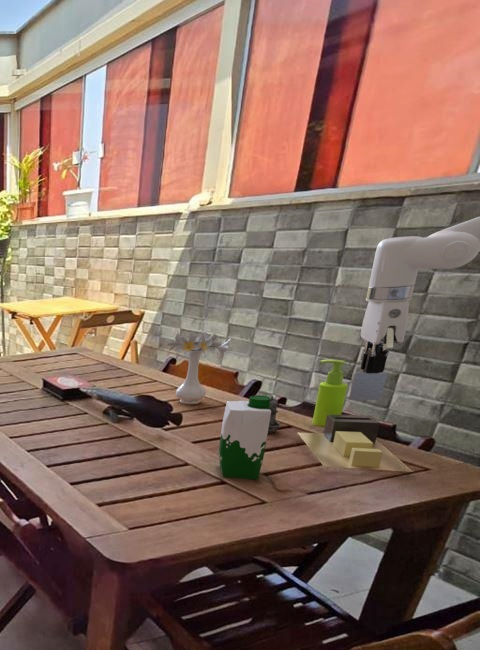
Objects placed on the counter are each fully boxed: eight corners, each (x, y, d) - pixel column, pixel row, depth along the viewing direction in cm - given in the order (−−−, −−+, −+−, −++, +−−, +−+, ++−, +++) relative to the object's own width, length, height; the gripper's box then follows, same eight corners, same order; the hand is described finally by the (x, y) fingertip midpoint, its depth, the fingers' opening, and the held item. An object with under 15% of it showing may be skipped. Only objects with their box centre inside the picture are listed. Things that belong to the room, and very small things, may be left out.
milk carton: (263, 481, 119) (276, 403, 112) (218, 478, 123) (228, 402, 116) (256, 467, 126) (269, 392, 119) (214, 464, 130) (224, 391, 123)
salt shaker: (252, 430, 147) (258, 392, 143) (277, 432, 144) (284, 393, 140) (254, 437, 143) (260, 398, 139) (280, 439, 140) (287, 399, 136)
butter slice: (375, 464, 118) (379, 449, 117) (379, 467, 116) (383, 452, 115) (348, 462, 120) (351, 447, 119) (351, 465, 119) (354, 450, 117)
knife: (378, 398, 122) (391, 347, 118) (382, 401, 120) (395, 348, 116) (347, 398, 125) (358, 347, 120) (350, 400, 123) (361, 349, 118)
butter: (357, 446, 128) (360, 432, 126) (369, 458, 121) (373, 443, 120) (332, 445, 130) (335, 431, 129) (343, 456, 123) (346, 442, 122)
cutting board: (370, 439, 133) (371, 435, 133) (412, 476, 113) (413, 471, 113) (296, 436, 140) (297, 432, 140) (323, 470, 120) (324, 466, 120)
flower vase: (226, 407, 168) (236, 334, 160) (165, 407, 175) (171, 337, 167) (217, 396, 179) (225, 327, 171) (160, 396, 186) (165, 330, 178)
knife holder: (365, 436, 133) (370, 415, 131) (374, 444, 128) (380, 422, 126) (323, 434, 137) (327, 414, 135) (330, 442, 132) (334, 421, 130)
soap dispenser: (309, 422, 148) (322, 357, 142) (340, 426, 143) (354, 359, 137) (304, 427, 145) (317, 361, 138) (335, 432, 140) (350, 363, 133)
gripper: (429, 296, 105) (408, 379, 112) (395, 288, 119) (377, 363, 125) (382, 298, 109) (364, 379, 115) (354, 291, 122) (339, 363, 128)
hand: (371, 370), depth 120 cm, fingers closed on knife, 2 cm apart
